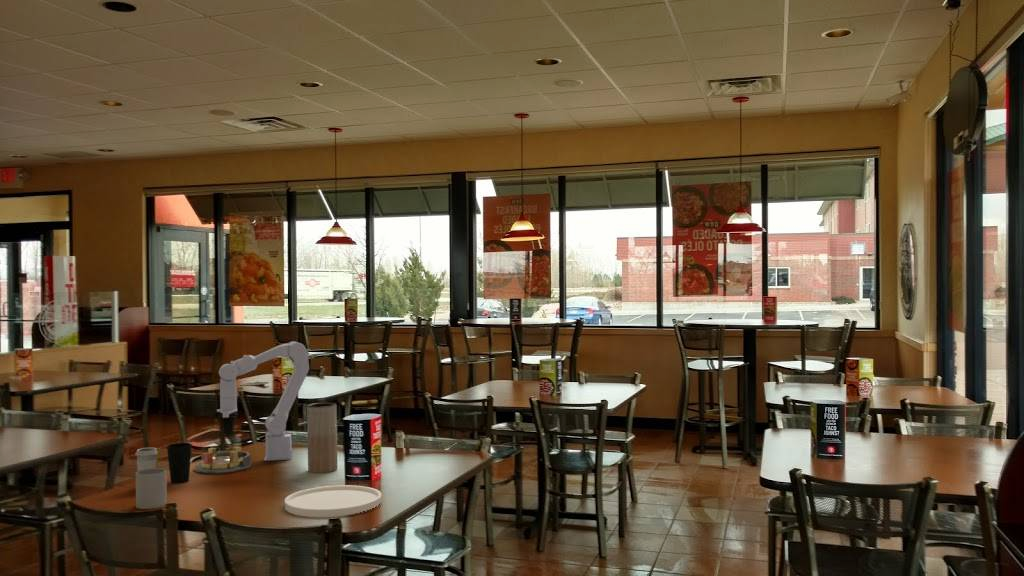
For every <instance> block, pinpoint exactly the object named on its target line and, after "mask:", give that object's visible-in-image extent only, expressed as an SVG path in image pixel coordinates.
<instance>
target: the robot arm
mask: <svg viewBox="0 0 1024 576" xmlns="http://www.w3.org/2000/svg"><path fill="white" fill-rule="evenodd" d="M278 357H280V358H289V359H290V361H291V363H292V365H293V367H294V370H293V372H292V374H291V376H290V378H289V380H288V382H287V385H286V386H285V389H284V390H283V392H282V395H281V397H280V399H279V401H278V403H277V404H276V407H274V409H273V411H272V412H271V414H270V415H269V416H267V418H266V419H265V421H264V426H265V428H266V433H265V456H264V458H263V461H280V460H281V461H287V460H291V458H292V456H293V448H292V446H293V445H292V443H293V442H292V439H293V438H292V434H291V433H289V434H288V433H286V429H287V421H288V419H289V412H290V411H291V409H292V407H293V404H294V402H295V401H296V398H297V396H298V394H299V392H300V390H301V387H302V385H303V383H304V381H305V379H306V377H307V375H308V372H309V370H310V362H309V352H308V349H307V348H306V346H305V345H304V344H303V343H302V342H301V343H300V342H298V341H290V342H287V343H286V342H285V343H283V344H279V345H277V346H275V347H273V348H270V349H268V350H266V351H263V352H261V353H259V354H258V355H251V354H248V355H247V354H244V355H243V356H242V357H241V358H238V359H236V360H230V362H229V363H224V364H223V365H221V366H220V368H219V371H218V375H219V377H220V381H219V382H220V385H219V390H220V391H219V402H220V403H219V404H220V405H219V407H220V408H219V409H216V412H217V413H220V414H221V415H219V421H220V422H221V425H222V427H223V432H224V435H225V436H232V435H233V434H234V429H235V425H236V424H235V423H236V420H237V417H238V416H239V413H237V412H238V401H237V400H238V396H237V395H238V394H237V393H238V392H237V391H238V390H237V389H238V388H237V386H238V385H237V377H238V376H239V377H240V376H242V375H246V374H248V373H249V372H252V371H255V370H256V369H257V368H258V365H260V364H263V363H264V362H267V361H270V360H273V359H276V358H278Z"/></svg>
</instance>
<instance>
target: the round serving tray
mask: <svg viewBox="0 0 1024 576" xmlns="http://www.w3.org/2000/svg"><path fill="white" fill-rule="evenodd" d="M232 451H233V450H222V451H216V452H217V457H219V456H230V453H229V452H232ZM251 456H252V455H251V454H250V452H248V451H242V450H241V457H243V465H242V466H238V467H233V468H227V469H206V468H201V467H200V463H198V464H196V465H195V466H194V472H196V473H198V474H205V475H220V474H231V473H237V472H241V471H245V470H248V469H250V468H251V467H252V461H251V460H252V457H251ZM202 460H204V453H202V454H201V461H202ZM225 462H230V457H223V458H216V459H213V463H225Z"/></svg>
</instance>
